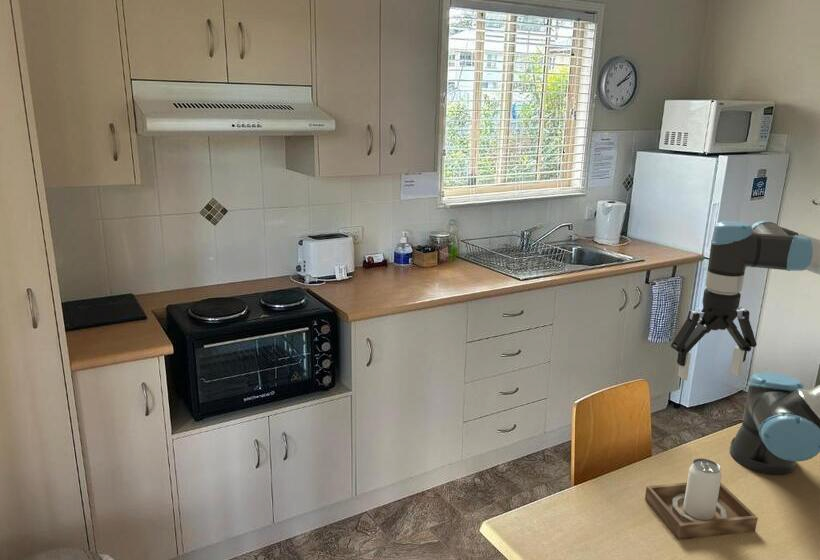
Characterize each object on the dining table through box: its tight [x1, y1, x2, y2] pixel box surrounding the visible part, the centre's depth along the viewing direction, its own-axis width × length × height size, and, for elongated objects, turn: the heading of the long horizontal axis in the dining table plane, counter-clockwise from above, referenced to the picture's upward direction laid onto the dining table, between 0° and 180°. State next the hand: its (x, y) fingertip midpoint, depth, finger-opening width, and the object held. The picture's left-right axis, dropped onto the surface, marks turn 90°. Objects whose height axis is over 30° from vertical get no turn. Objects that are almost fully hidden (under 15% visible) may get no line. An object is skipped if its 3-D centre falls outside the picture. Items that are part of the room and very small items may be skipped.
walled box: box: [644, 481, 759, 541], centre depth 142 cm, size 18×14×4 cm
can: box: [684, 457, 722, 521], centre depth 141 cm, size 6×6×12 cm
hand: (708, 376), depth 150 cm, fingers open, 13 cm apart
